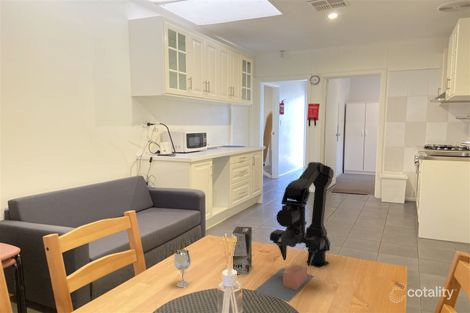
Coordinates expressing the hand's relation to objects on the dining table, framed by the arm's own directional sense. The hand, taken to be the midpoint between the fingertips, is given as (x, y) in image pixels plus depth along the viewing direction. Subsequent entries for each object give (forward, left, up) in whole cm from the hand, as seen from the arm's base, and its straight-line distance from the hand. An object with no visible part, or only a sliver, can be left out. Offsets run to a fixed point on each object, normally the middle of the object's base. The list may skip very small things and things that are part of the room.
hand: (296, 262), depth 120 cm
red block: (-3, -1, -5) cm, 6 cm away
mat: (+4, -2, -8) cm, 9 cm away
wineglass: (+32, -25, -8) cm, 41 cm away
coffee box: (+8, -21, -8) cm, 23 cm away
